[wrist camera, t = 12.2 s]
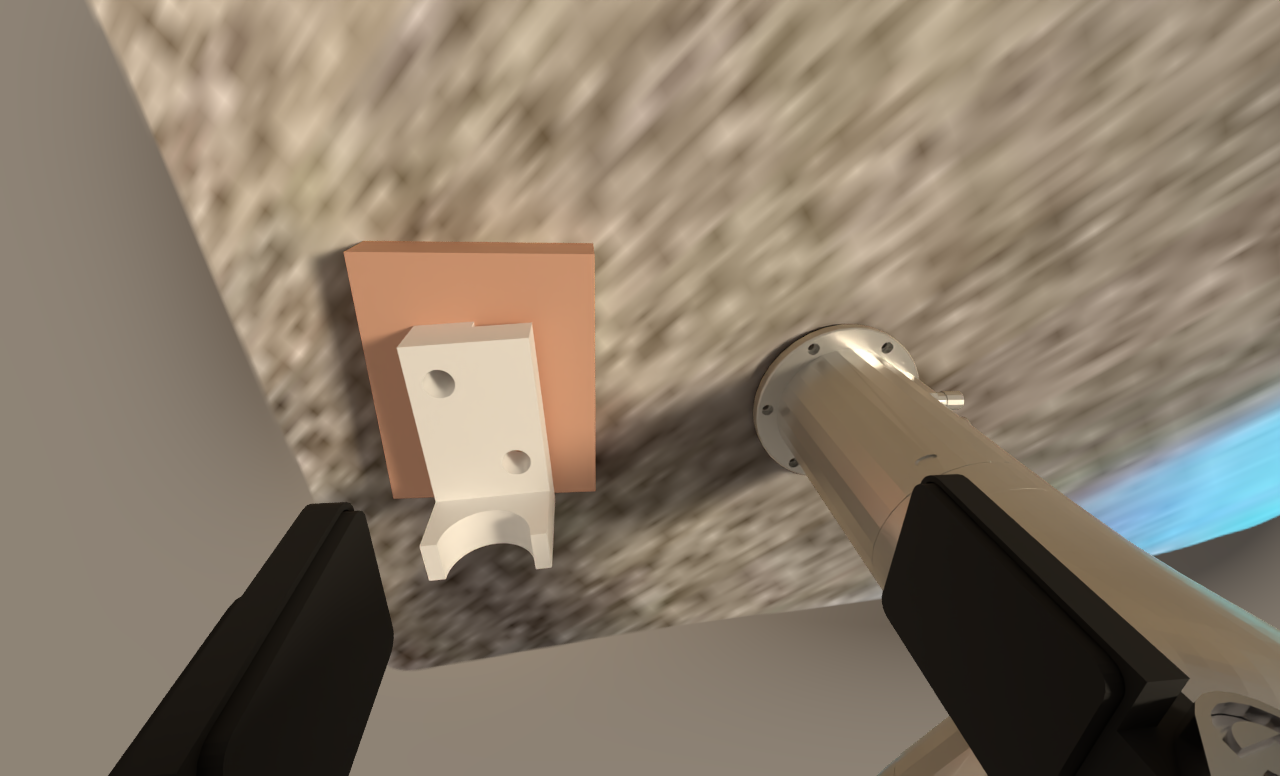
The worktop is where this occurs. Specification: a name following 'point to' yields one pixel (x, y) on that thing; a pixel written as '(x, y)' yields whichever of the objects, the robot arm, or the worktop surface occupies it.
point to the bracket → (480, 440)
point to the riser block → (487, 295)
